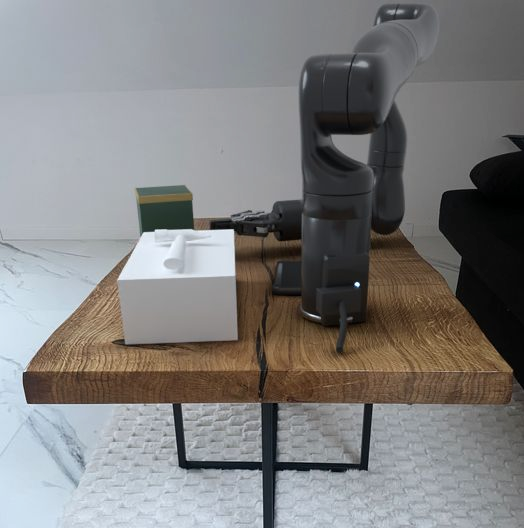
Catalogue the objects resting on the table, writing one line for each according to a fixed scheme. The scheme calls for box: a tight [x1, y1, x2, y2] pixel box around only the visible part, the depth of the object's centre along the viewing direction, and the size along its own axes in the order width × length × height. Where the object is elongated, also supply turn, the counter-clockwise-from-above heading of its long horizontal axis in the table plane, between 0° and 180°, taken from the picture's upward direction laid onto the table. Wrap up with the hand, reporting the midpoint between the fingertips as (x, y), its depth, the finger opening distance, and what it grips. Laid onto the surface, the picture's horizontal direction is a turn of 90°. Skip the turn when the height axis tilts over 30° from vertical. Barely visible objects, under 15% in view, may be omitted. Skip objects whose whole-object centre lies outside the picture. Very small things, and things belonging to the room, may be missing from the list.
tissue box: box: [116, 229, 239, 345], centre depth 87 cm, size 14×25×11 cm, turn 3°
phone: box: [272, 260, 301, 296], centre depth 100 cm, size 8×1×15 cm
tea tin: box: [134, 184, 195, 239], centre depth 109 cm, size 9×9×13 cm
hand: (210, 226), depth 111 cm, fingers closed
